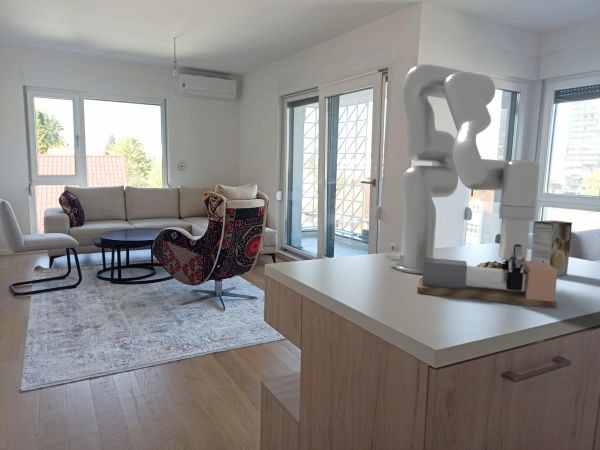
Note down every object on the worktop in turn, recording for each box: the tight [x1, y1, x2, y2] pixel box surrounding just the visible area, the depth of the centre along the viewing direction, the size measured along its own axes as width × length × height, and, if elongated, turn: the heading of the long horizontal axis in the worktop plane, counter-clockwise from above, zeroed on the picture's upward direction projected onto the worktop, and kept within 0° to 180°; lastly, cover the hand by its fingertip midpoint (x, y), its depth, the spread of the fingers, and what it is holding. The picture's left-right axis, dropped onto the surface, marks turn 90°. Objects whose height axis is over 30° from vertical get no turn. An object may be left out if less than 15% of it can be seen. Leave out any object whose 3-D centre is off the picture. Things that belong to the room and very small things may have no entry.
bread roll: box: [475, 260, 502, 269], centre depth 126 cm, size 11×11×5 cm
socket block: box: [523, 260, 558, 302], centre depth 99 cm, size 6×10×7 cm, turn 161°
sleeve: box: [422, 257, 468, 290], centre depth 106 cm, size 10×6×6 cm, turn 71°
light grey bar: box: [466, 265, 527, 291], centre depth 102 cm, size 18×4×4 cm, turn 71°
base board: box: [416, 277, 558, 310], centre depth 104 cm, size 30×10×2 cm, turn 71°
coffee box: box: [530, 220, 573, 277], centre depth 128 cm, size 9×6×16 cm
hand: (510, 284), depth 101 cm, fingers open, 9 cm apart
